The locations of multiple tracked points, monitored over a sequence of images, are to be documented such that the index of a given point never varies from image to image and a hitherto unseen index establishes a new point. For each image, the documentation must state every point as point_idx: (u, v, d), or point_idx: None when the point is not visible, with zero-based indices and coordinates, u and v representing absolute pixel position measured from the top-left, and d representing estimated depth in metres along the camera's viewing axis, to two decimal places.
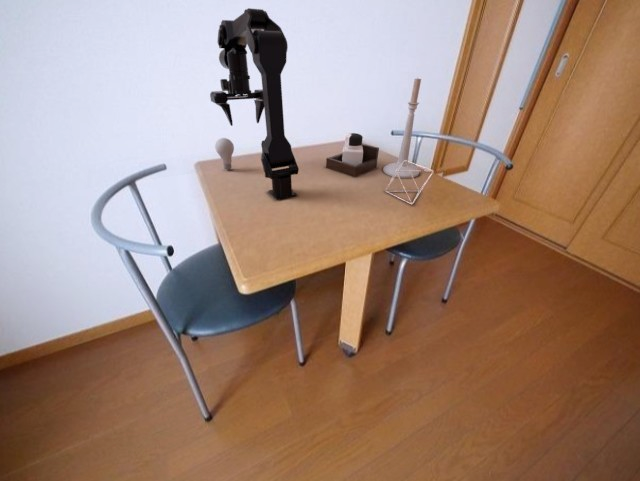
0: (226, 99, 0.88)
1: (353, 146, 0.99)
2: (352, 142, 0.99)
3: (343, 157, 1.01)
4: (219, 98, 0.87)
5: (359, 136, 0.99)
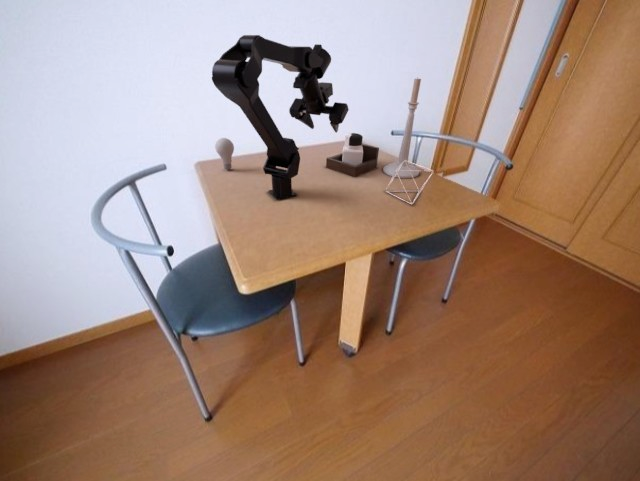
0: (298, 115, 0.91)
1: (353, 146, 0.99)
2: (352, 142, 0.99)
3: (343, 157, 1.01)
4: (292, 114, 0.92)
5: (359, 136, 0.99)
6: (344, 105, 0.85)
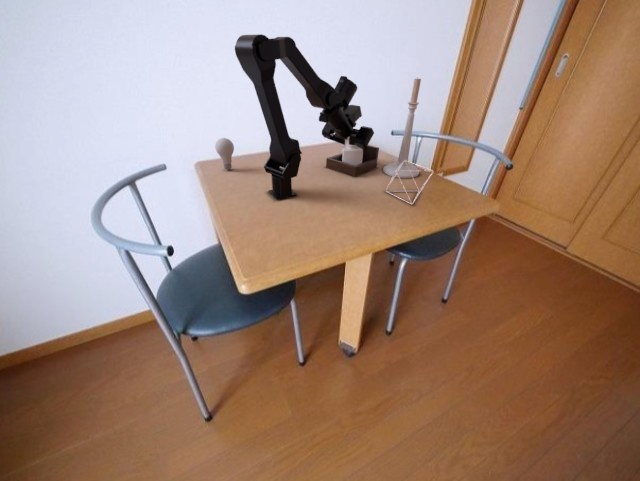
0: (329, 137, 1.00)
1: (353, 145, 1.00)
2: (352, 140, 0.99)
3: (343, 156, 1.01)
4: (324, 135, 1.01)
5: None
6: (368, 130, 0.90)
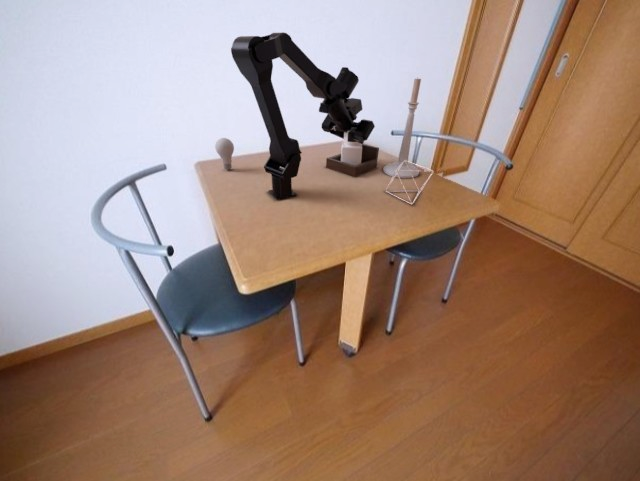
0: (328, 130, 0.98)
1: (352, 142, 0.98)
2: (351, 137, 0.97)
3: (342, 153, 1.00)
4: (323, 129, 0.99)
5: None
6: (369, 123, 0.89)
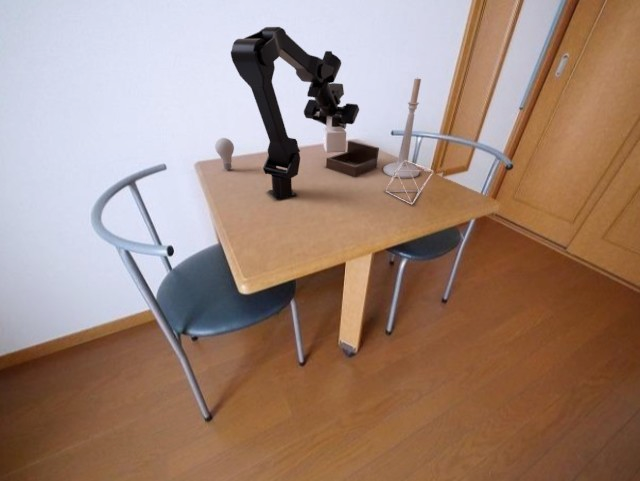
0: (312, 117, 0.98)
1: (336, 127, 0.99)
2: (335, 122, 0.98)
3: (327, 139, 1.01)
4: (306, 115, 0.99)
5: None
6: (355, 106, 0.91)
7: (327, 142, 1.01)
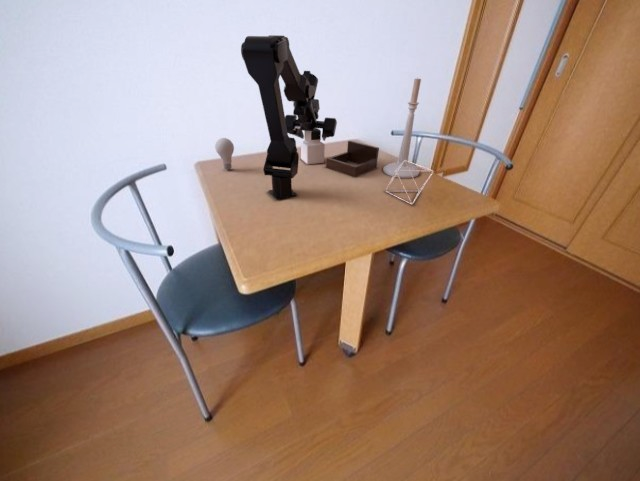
0: (292, 131, 1.02)
1: (315, 140, 1.05)
2: (314, 136, 1.04)
3: (308, 152, 1.06)
4: None
5: (318, 130, 1.05)
6: (334, 120, 0.98)
7: (308, 154, 1.06)
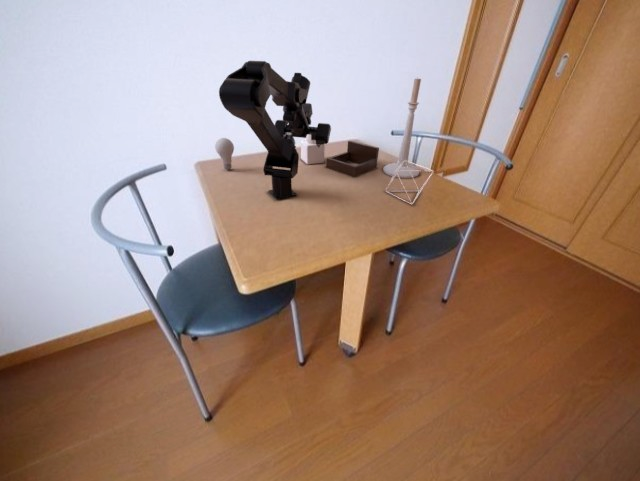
0: (282, 138, 0.95)
1: None
2: (314, 136, 1.04)
3: (308, 152, 1.06)
4: None
5: None
6: (328, 126, 0.91)
7: (308, 154, 1.06)
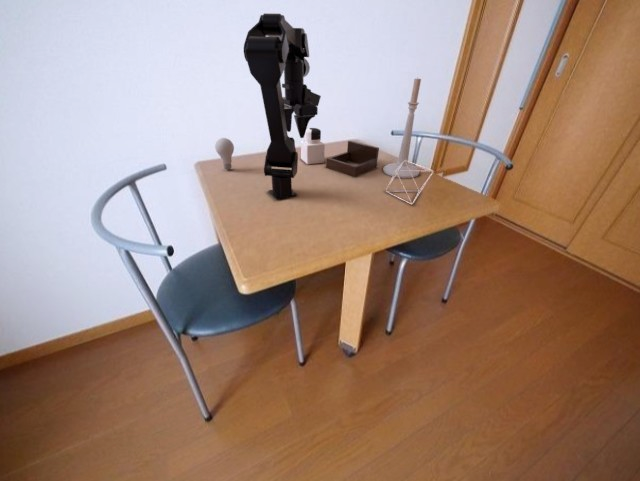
0: None
1: (315, 140, 1.05)
2: (314, 136, 1.04)
3: (308, 152, 1.06)
4: None
5: (318, 130, 1.05)
6: (313, 105, 0.83)
7: (308, 154, 1.06)
